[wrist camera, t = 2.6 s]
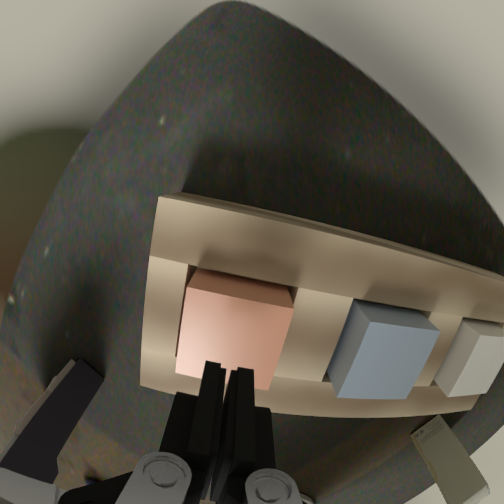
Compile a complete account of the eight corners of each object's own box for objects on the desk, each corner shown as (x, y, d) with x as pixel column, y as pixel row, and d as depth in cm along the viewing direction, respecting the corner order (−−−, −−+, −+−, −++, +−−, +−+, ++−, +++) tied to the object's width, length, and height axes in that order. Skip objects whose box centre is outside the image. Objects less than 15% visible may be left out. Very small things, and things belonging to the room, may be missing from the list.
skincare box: (408, 434, 25) (448, 512, 13) (440, 411, 25) (488, 483, 13) (421, 451, 26) (456, 518, 15) (450, 431, 26) (490, 494, 14)
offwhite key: (468, 374, 19) (486, 393, 16) (429, 374, 18) (447, 397, 15) (493, 322, 18) (515, 338, 15) (456, 316, 17) (480, 335, 14)
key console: (447, 381, 24) (470, 409, 19) (159, 347, 22) (140, 385, 17) (495, 272, 21) (529, 290, 16) (181, 191, 19) (158, 196, 14)
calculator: (75, 350, 22) (-17, 464, 8) (111, 381, 23) (39, 509, 8) (43, 399, 24) (-20, 486, 9) (72, 423, 25) (18, 517, 10)
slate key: (389, 373, 18) (405, 399, 15) (325, 368, 18) (336, 397, 15) (417, 310, 17) (440, 330, 14) (352, 298, 17) (370, 321, 14)
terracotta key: (265, 360, 18) (268, 390, 15) (185, 344, 17) (175, 372, 14) (287, 286, 16) (294, 308, 14) (197, 267, 16) (186, 286, 13)
